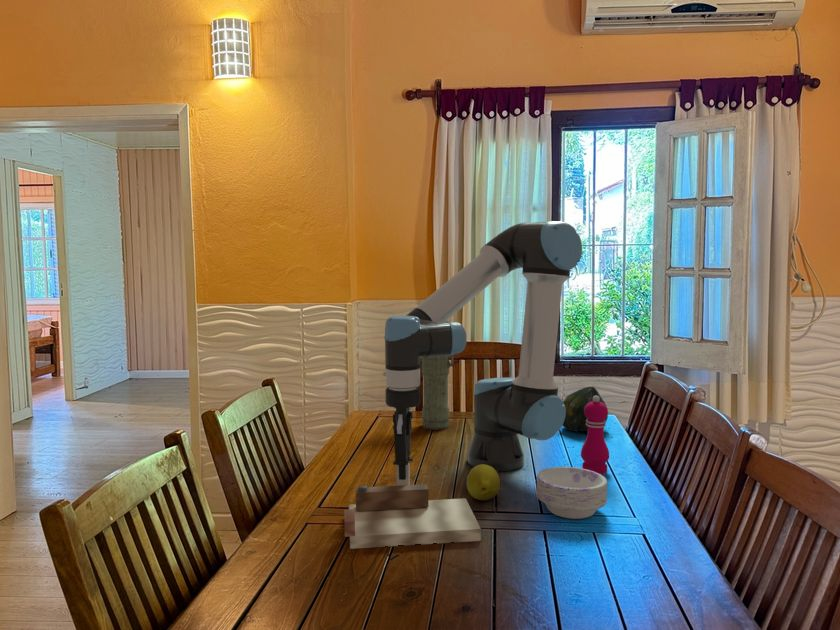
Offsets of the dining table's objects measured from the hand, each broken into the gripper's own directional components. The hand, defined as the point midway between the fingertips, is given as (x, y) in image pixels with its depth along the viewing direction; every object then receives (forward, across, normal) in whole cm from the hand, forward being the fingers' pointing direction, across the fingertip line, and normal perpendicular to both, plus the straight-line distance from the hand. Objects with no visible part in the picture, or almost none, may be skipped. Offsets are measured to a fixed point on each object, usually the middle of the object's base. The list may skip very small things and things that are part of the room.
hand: (403, 491), depth 146 cm
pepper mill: (+5, -30, +46) cm, 56 cm away
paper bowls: (+5, -4, +37) cm, 38 cm away
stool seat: (+5, +8, +3) cm, 10 cm away
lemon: (+5, -8, +18) cm, 20 cm away
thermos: (+5, -70, +2) cm, 70 cm away
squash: (+4, -69, +49) cm, 85 cm away
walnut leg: (+2, +4, -2) cm, 5 cm away
